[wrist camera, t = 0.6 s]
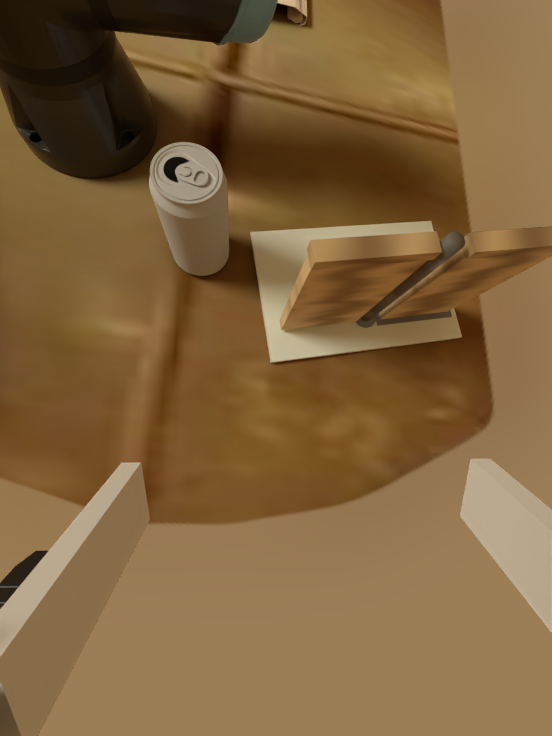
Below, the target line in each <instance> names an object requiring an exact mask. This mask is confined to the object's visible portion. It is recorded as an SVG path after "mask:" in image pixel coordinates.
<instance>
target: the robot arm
mask: <svg viewBox="0 0 552 736" xmlns="http://www.w3.org/2000/svg"><path fill="white" fill-rule="evenodd" d="M277 2H278V0H0V88H1V91H2V94H3V96H4V99H5V102H6V105H7V108H8V110H9V113H10V116H11V119H12V121H13V123H14V125H15V127H16V129H17V131H18V132H19V134H20V135H21V137H22V138H23V139H24V141H25V142H26V143H27V145H28V146H29V148H30V149H31V150H32V152H33V153H34V154H35V155H36V156H37V157H38V158H39V159H40V160H41V161H43V162H44V163H45V164H47V165H48V166H50V167H52V168H54V169H56V170H58V171H60V172H63V173H66V174H69V175H73V176H78V177H86V178H98V177H107V176H111V175H115V174H118V173H121V172H124V171H126V170H128V169H130V168H132V167H133V166H135V165H136V164H137V163H139V162H140V161H141V160H142V159H143V158H144V157H145V156H146V155H147V153H148V152H149V151H150V149H151V147H152V145H153V143H154V140H155V137H156V131H157V124H156V118H155V114H154V110H153V106H152V102H151V99H150V96H149V94H148V91H147V89H146V87H145V85H144V84H143V82H142V80H141V78H140V77H139V75H138V73H137V72H136V70H135V68H134V67H133V65H132V63H131V61H130V60H129V58H128V56H127V55H126V53H125V51H124V50H123V48H122V46H121V44H120V43H119V41H118V39H117V37H116V35H115V32H114V31H118V32H126V33H135V34H144V35H152V36H161V37H170V38H179V39H188V40H197V41H206V42H213V43H214V44H216V45H221V44H222V45H224V44H226V43H227V42H231V43H252V42H254V41H257V40H258V39H259V38H261V37H262V36H263V35H264V34H265V32H266V31H267V29H268V27H269V25H270V23H271V21H272V18H273V15H274V12H275V9H276V5H277ZM460 517H461V518H462V519H463V520H464V522H465V523H466V524H467V526H468V527H469V528H470V529H471V531H472V532H473V533H474V534H475V536H476V537H477V538H478V540H479V541H480V542H481V543H482V544H483V546H484V547H485V548H486V550H487V551H488V552H489V554H490V555H491V556H492V557H493V559H494V560H495V561H496V562H497V564H498V565H499V566H500V568H501V569H502V570H503V571H504V573H505V574H506V575H507V576H508V578H509V579H510V580H511V581H512V583H513V584H514V585H515V587H516V588H517V589H518V590H519V592H520V593H521V594H522V596H523V597H524V598H525V599H526V600H527V602H528V603H529V604H530V605H531V607H532V608H533V610H534V611H535V612H536V613H537V614H538V616H539V617H540V618H541V620H542V621H543V622H544V624H545V625H546V626H547V627H548V629H549V630H550V631H551V632H552V510H551V509H550V508H549V507H548V506H547V505H545V504H544V503H543V502H542V501H541V500H539V499H538V498H537V497H536V496H535V495H533V494H532V493H531V492H530V491H529V490H527V489H526V488H525V487H524V486H522V485H521V484H520V483H519V482H518V481H516V480H515V479H514V478H513V477H511V476H510V475H509V474H508V473H507V472H506V471H504V470H503V469H502V468H501V467H500V466H498V465H497V464H496V463H495V462H494V461H492V460H491V459H471V461H470V466H469V471H468V476H467V482H466V487H465V493H464V497H463V503H462V508H461V513H460ZM149 520H150V518H149V512H148V505H147V498H146V492H145V485H144V478H143V472H142V465H141V463H121V464H120V465H119V467H118V468H117V469H116V470H115V472H114V473H113V474H112V475H111V476H110V478H109V479H108V480H107V481H106V482H105V484H104V485H103V486H102V487H101V488H100V490H99V491H98V492H97V493H96V494H95V496H94V497H93V498H92V499H91V500H90V502H89V503H88V504H87V505H86V507H85V508H84V509H83V510H82V511H81V513H80V514H79V515H78V516H77V517H76V519H75V520H74V521H73V522H72V523H71V525H70V526H69V527H68V528H67V529H66V531H65V532H64V533H63V534H62V536H61V537H60V538H59V539H58V540H57V542H56V543H55V544H54V545H53V546H52V548H51V549H50V550H49V551H35V552H34V553H33V554H31V555H30V556H29V557H27V558H26V559H25V560H24V561H22V562H21V563H19V564H18V565H17V566H15V567H14V568H13V569H12V571H11V572H10V573H9V574H8V575H7V576H6V577H5V578H4V579H3V581H2V582H1V583H0V736H38V735H39V733H40V731H41V729H42V727H43V725H44V723H45V721H46V719H47V717H48V716H49V714H50V712H51V709H52V708H53V706H54V704H55V702H56V700H57V698H58V696H59V694H60V692H61V690H62V688H63V686H64V684H65V683H66V681H67V679H68V677H69V675H70V673H71V671H72V669H73V667H74V665H75V663H76V661H77V659H78V657H79V655H80V654H81V652H82V650H83V648H84V646H85V644H86V642H87V640H88V638H89V636H90V634H91V632H92V630H93V628H94V626H95V624H96V623H97V621H98V619H99V617H100V615H101V613H102V611H103V609H104V607H105V605H106V603H107V601H108V599H109V597H110V596H111V594H112V592H113V589H114V588H115V586H116V584H117V582H118V580H119V578H120V576H121V574H122V572H123V570H124V568H125V566H126V564H127V562H128V561H129V558H130V557H131V555H132V553H133V551H134V549H135V547H136V545H137V543H138V541H139V539H140V537H141V535H142V534H143V532H144V530H145V528H146V526H147V524H148V522H149Z"/></svg>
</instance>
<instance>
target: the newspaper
mask: <svg viewBox="0 0 552 736" xmlns="http://www.w3.org/2000/svg"><path fill="white" fill-rule="evenodd" d="M277 3H280V4H283V5H287V13H288V19H290V20H292V21H294V22H295V23H300V26H302V25H305V24H306V20H307V0H278V2H277Z"/></svg>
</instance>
